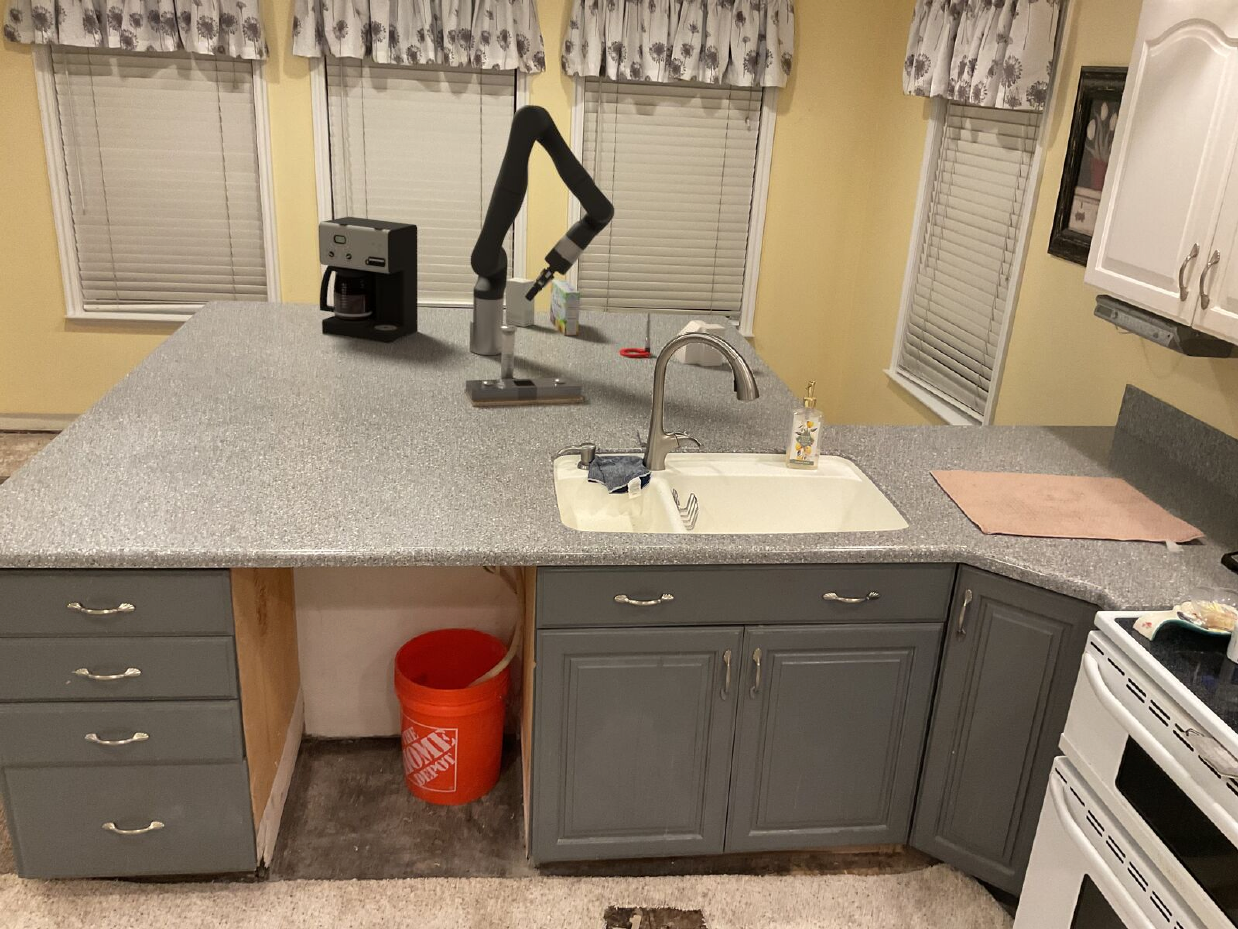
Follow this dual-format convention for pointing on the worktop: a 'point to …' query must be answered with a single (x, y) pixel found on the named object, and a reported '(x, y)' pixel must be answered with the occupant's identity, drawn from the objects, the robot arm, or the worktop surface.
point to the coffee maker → (369, 278)
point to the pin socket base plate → (523, 391)
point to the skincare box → (519, 302)
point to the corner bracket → (700, 346)
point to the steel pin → (507, 351)
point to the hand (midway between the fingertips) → (528, 297)
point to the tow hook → (643, 352)
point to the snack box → (564, 307)
